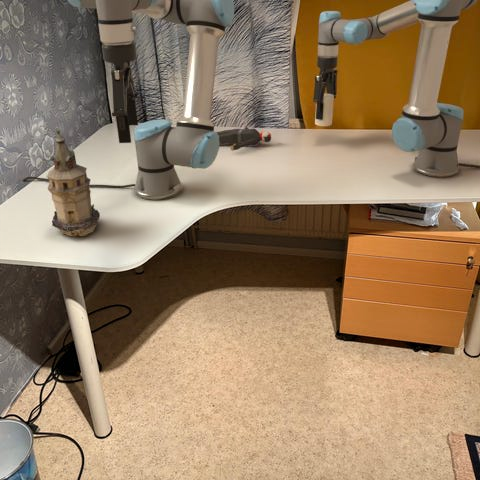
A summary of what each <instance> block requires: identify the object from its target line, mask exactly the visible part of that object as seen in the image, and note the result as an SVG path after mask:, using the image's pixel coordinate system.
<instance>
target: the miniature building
mask: <svg viewBox="0 0 480 480" xmlns="http://www.w3.org/2000/svg"><path fill="white" fill-rule="evenodd" d="M56 134H57V136H56V138H55V140H54V141H55V142H56V147H55V154H54V156H52V157H51V161H52V162H53V165H54V167H53V168H51V169H50V170H49V171H48V173H47V174H46V179H49V181H48V182H49V184H48V186H47V190H48V191H49V193H50V194H51V200H52V201H53V205H54V209H55V211H53V217H52V220H51V223H52V225H51V227H54V228H56V229H58V230H59V231H60V234H63V235H64V234H65V235H66V236H69V237H77V236H80V237H83V236H87V235H88V234H90V233H93V232H94V231H95V229H96V226H97V225H98V223H99V220H100V216H101V213H100V212H99V210H98V209H96V208H95V204H92V201H91V200H92V199H91V198H92V197H91V192H92V191H91V188H90V187H89V185H91V178H89V177H88V174H87V167H85V166H84V165H83V166H82V165H80V164H77V160H76V154H75V151H74V150H70V149H69V147H68V145H67V143H66V138H65V137H64V136H63V135H61V130H60V129H56Z"/></svg>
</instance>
